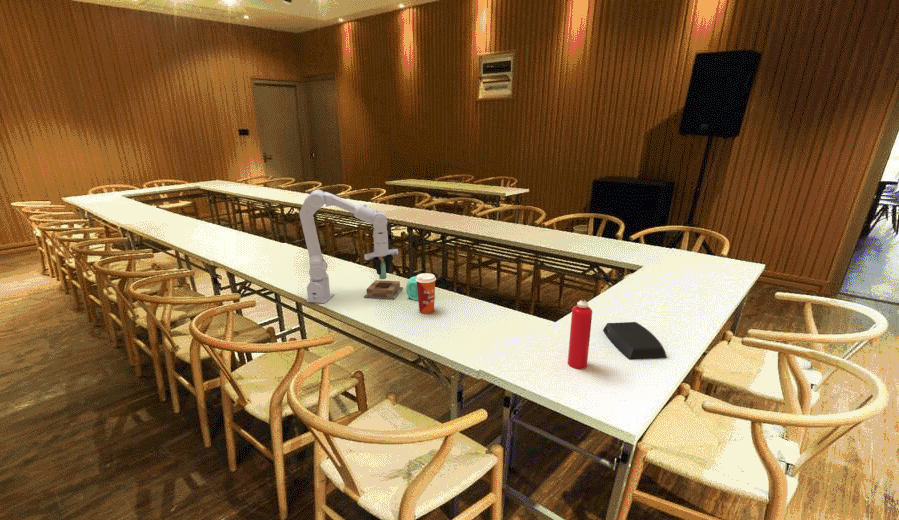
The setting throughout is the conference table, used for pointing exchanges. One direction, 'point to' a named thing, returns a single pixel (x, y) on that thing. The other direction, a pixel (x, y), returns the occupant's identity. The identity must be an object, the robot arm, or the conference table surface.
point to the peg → (383, 270)
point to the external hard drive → (634, 341)
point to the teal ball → (412, 288)
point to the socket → (383, 290)
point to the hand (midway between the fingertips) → (382, 273)
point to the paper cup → (426, 292)
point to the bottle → (579, 335)
